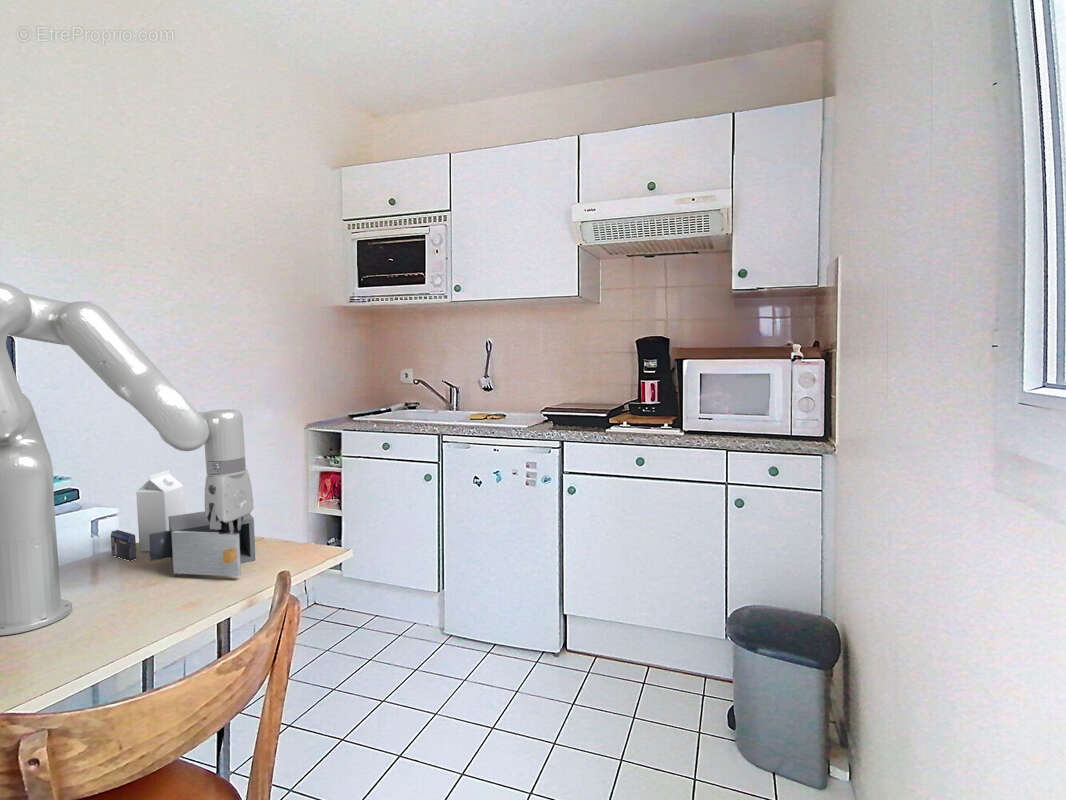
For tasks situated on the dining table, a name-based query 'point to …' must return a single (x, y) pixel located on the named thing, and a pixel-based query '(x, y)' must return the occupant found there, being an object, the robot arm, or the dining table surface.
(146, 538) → the milk carton
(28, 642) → the dining table surface
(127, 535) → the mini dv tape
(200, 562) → the door
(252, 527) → the grey cabinet
